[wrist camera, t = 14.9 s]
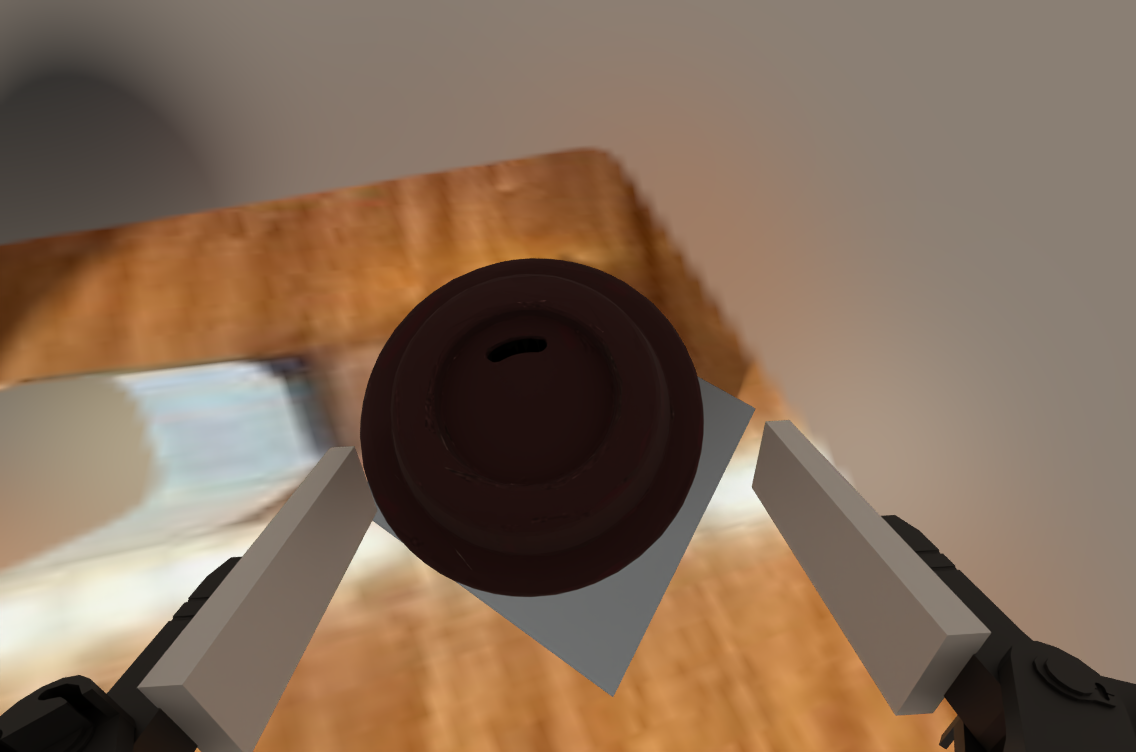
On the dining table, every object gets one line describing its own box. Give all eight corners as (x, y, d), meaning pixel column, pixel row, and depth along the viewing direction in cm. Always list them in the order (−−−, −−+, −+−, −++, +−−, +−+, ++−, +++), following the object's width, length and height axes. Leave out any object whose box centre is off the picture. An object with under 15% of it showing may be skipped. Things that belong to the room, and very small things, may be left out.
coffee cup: (606, 572, 22) (664, 694, 8) (444, 509, 23) (242, 517, 9) (655, 408, 25) (763, 281, 11) (509, 359, 26) (431, 185, 12)
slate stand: (387, 504, 29) (347, 504, 24) (527, 310, 33) (519, 275, 28) (605, 661, 26) (613, 700, 20) (726, 423, 30) (757, 407, 25)
